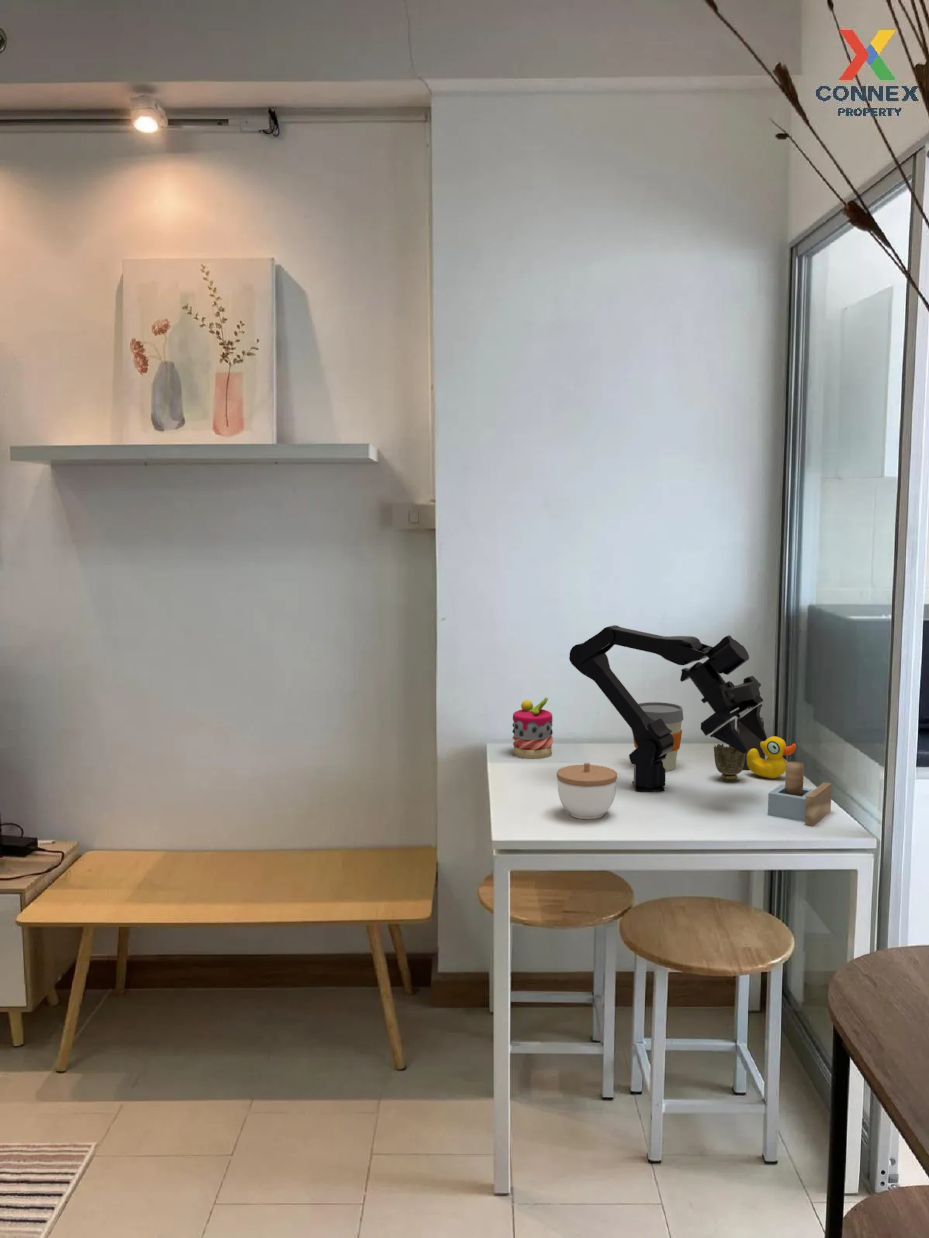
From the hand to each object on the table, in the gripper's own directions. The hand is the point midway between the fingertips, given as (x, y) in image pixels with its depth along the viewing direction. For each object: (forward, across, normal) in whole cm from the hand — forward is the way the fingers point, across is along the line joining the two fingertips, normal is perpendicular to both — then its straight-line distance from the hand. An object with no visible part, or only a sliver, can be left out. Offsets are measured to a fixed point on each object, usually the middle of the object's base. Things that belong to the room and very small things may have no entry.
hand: (755, 746), depth 221 cm
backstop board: (+19, 0, -2) cm, 19 cm away
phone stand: (+2, +29, +23) cm, 37 cm away
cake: (-30, +3, +58) cm, 66 cm away
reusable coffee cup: (-10, +13, +35) cm, 38 cm away
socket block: (+16, -1, +2) cm, 16 cm away
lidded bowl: (-7, -29, +26) cm, 39 cm away
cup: (+3, +14, +20) cm, 24 cm away
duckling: (+7, +22, +16) cm, 28 cm away
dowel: (+15, -1, +1) cm, 15 cm away
